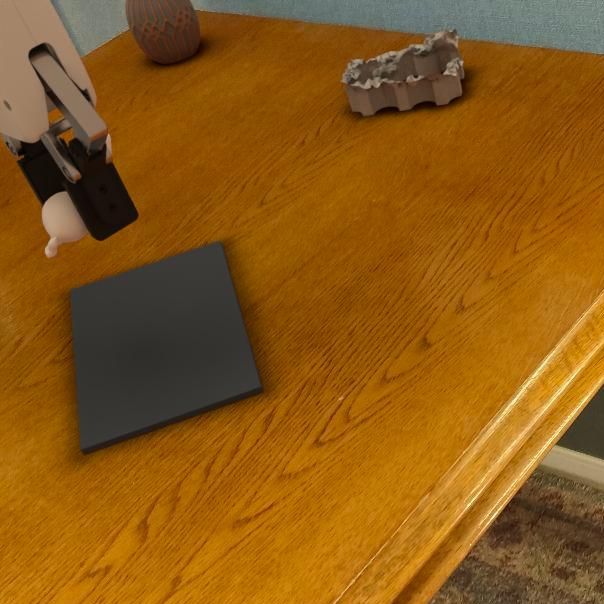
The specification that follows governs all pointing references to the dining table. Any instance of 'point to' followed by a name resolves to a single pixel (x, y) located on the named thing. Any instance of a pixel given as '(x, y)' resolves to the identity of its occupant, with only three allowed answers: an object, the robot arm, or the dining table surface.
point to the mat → (159, 347)
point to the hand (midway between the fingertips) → (92, 215)
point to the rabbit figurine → (63, 219)
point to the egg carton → (407, 76)
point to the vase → (164, 28)
